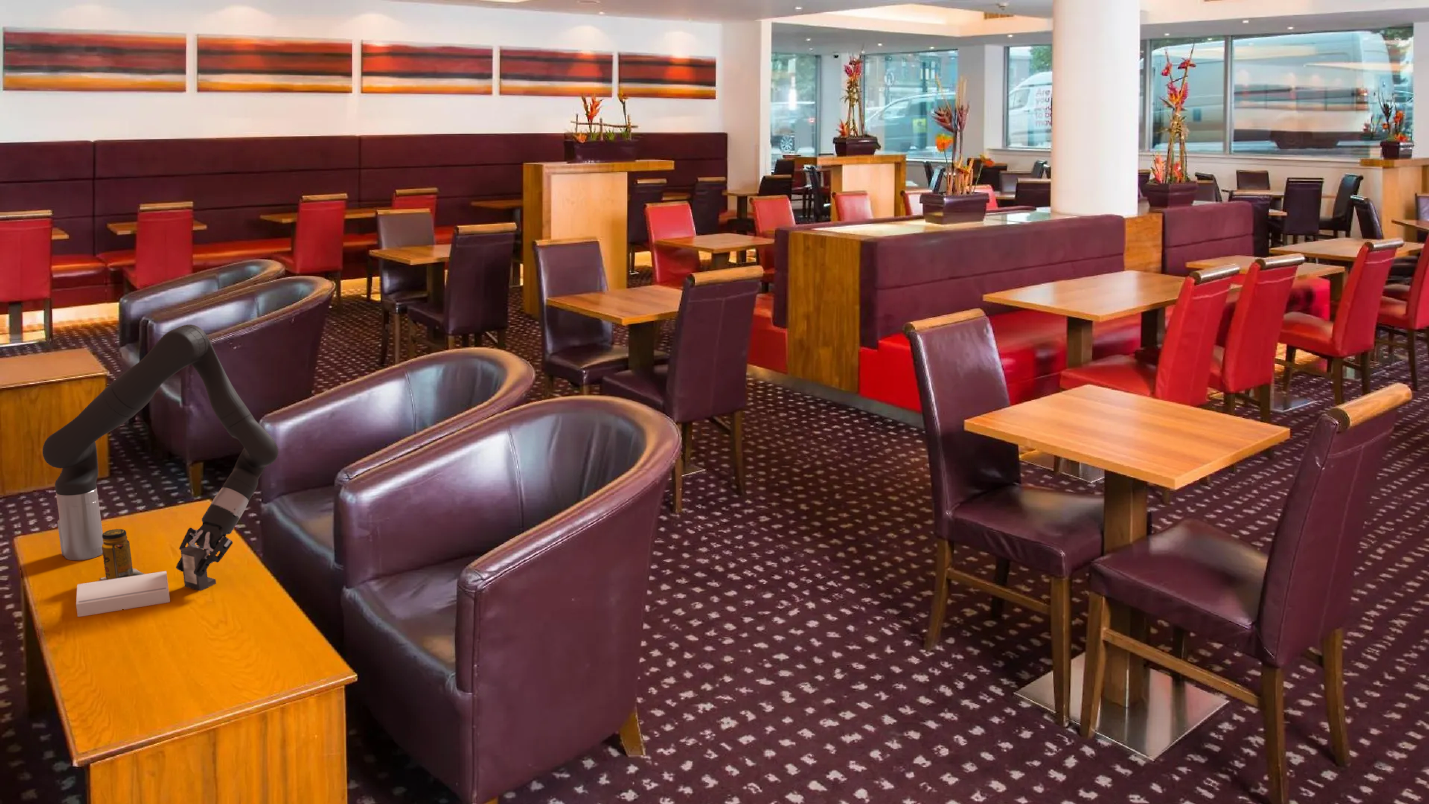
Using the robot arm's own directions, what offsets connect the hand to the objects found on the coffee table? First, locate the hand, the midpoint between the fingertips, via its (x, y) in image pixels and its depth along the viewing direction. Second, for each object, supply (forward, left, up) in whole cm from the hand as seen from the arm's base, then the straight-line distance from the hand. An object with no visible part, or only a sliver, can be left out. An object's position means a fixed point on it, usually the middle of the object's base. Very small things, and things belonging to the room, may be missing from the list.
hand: (188, 572), depth 286 cm
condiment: (-21, 0, -5) cm, 21 cm away
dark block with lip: (0, +3, -4) cm, 5 cm away
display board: (-10, -10, -4) cm, 15 cm away
